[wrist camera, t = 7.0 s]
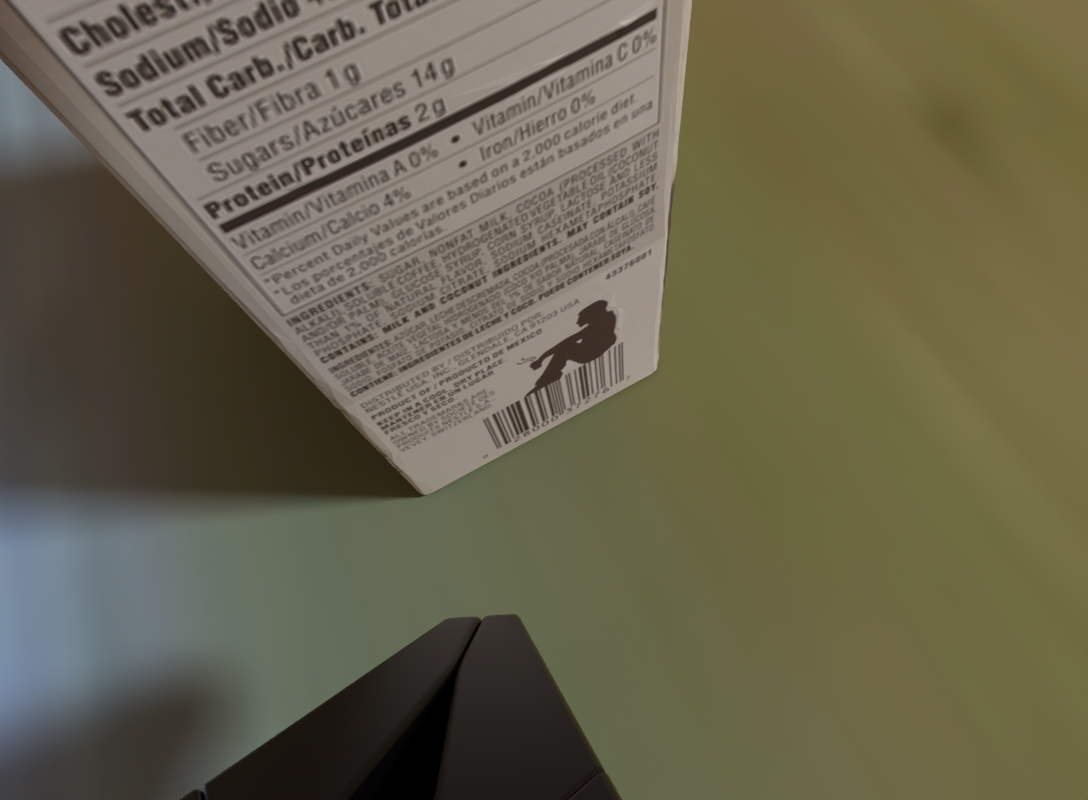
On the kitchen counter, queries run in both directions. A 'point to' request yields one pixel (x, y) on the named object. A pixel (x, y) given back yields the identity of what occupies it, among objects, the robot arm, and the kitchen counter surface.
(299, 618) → the kitchen counter surface
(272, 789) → the robot arm
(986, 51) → the kitchen counter surface
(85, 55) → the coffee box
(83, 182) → the kitchen counter surface
